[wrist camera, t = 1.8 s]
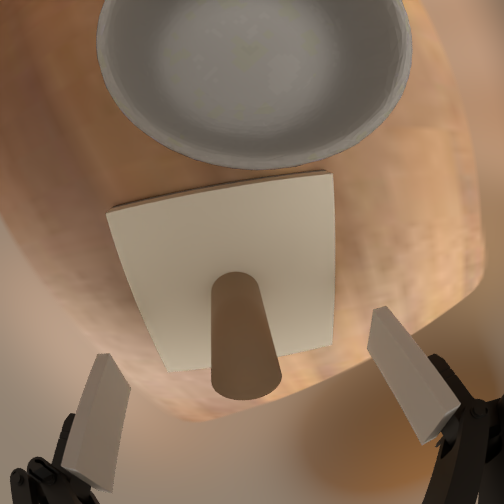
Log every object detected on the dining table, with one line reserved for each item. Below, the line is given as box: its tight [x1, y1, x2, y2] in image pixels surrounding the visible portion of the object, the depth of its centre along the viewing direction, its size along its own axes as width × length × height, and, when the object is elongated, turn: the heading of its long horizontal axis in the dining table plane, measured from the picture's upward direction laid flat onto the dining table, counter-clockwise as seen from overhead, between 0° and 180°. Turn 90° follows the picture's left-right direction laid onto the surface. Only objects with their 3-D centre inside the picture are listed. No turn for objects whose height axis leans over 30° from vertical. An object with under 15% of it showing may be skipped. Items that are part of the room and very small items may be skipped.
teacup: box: [96, 0, 412, 170], centre depth 9 cm, size 14×11×8 cm
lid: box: [105, 171, 335, 400], centre depth 15 cm, size 13×13×8 cm
